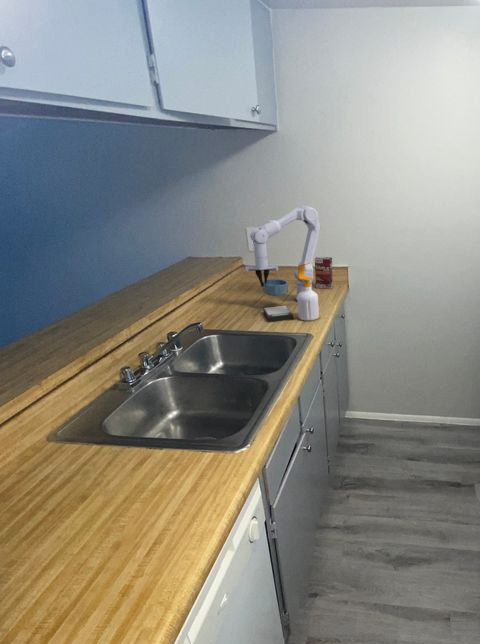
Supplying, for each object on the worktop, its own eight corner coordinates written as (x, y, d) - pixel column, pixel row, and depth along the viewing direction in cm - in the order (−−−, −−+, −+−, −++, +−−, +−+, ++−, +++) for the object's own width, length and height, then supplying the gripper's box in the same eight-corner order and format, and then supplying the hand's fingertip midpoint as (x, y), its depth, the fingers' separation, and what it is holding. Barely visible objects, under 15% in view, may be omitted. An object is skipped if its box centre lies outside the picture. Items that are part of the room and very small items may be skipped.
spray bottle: (311, 322, 207) (307, 265, 195) (294, 318, 211) (290, 263, 199) (322, 316, 214) (320, 261, 202) (306, 313, 218) (303, 259, 206)
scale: (263, 313, 218) (263, 307, 216) (287, 310, 221) (286, 305, 220) (268, 322, 207) (268, 316, 206) (293, 319, 211) (292, 313, 209)
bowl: (261, 289, 227) (261, 279, 224) (285, 289, 231) (285, 278, 228) (265, 296, 217) (265, 285, 215) (290, 295, 221) (290, 285, 219)
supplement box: (315, 288, 256) (314, 258, 248) (318, 285, 260) (316, 256, 252) (331, 288, 254) (330, 259, 247) (333, 286, 259) (332, 257, 251)
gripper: (243, 259, 211) (247, 288, 217) (276, 258, 213) (279, 287, 219) (245, 255, 217) (248, 284, 223) (277, 254, 219) (279, 283, 225)
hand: (263, 286), depth 222 cm, fingers closed on bowl
